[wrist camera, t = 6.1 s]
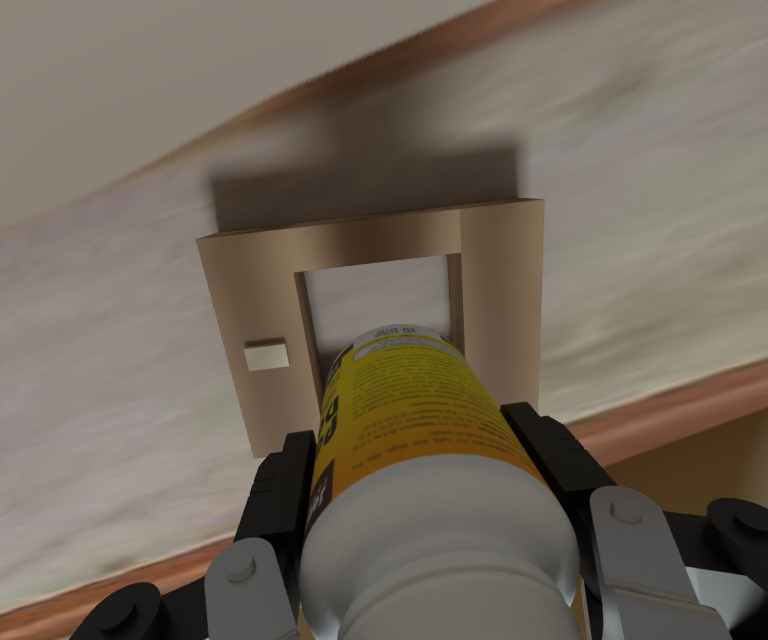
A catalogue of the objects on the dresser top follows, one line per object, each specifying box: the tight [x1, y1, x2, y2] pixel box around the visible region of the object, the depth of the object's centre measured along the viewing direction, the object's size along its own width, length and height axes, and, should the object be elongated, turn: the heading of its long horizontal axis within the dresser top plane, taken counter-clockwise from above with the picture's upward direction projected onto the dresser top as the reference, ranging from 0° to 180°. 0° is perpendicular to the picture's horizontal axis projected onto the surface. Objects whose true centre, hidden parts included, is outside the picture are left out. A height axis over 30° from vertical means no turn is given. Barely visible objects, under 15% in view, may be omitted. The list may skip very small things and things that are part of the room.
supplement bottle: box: [299, 324, 583, 640], centre depth 10 cm, size 6×6×10 cm
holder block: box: [196, 198, 545, 459], centre depth 21 cm, size 16×12×3 cm
